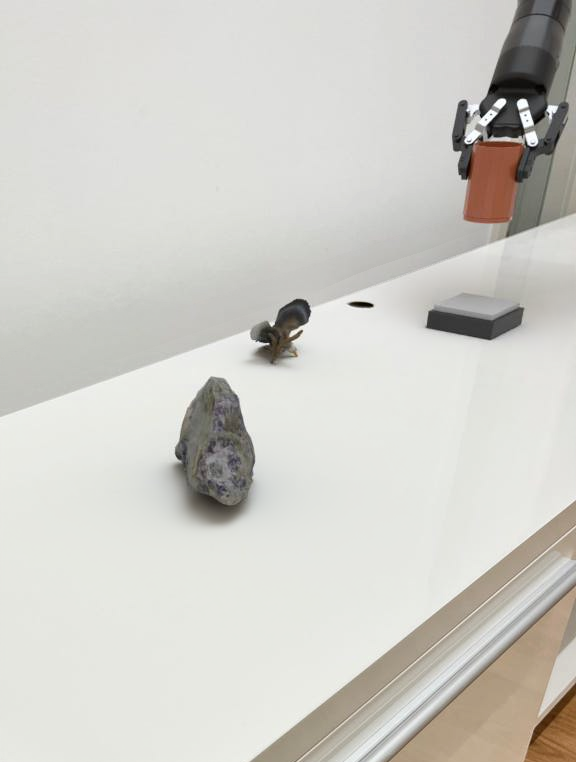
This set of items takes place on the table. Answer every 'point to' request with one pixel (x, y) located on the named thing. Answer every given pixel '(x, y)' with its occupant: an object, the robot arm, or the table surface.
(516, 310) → the scale
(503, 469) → the table surface
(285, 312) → the grey-brown irregular figure
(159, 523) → the table surface
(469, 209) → the cup
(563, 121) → the robot arm
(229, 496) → the mineral rock
